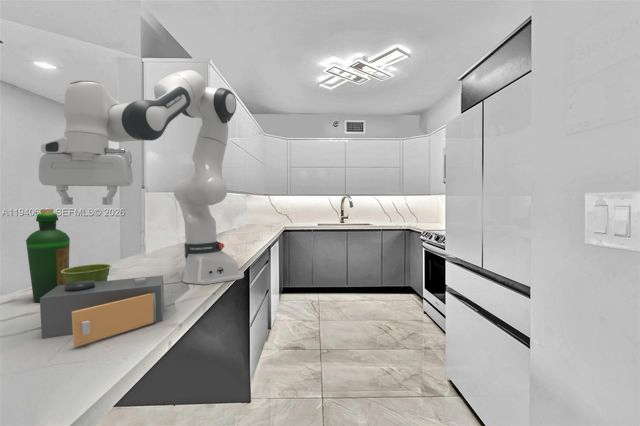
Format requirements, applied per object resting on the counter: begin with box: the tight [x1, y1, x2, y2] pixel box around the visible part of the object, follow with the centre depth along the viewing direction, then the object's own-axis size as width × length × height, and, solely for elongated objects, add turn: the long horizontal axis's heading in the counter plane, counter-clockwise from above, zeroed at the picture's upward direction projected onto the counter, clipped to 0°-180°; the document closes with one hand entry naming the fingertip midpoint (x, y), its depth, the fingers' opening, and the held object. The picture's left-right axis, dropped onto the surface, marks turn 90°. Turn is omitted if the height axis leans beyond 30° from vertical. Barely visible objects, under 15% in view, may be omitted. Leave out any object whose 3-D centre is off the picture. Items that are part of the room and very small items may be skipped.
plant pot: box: [61, 263, 112, 284], centre depth 94 cm, size 12×12×11 cm
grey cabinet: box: [39, 275, 165, 339], centre depth 83 cm, size 24×12×10 cm, turn 113°
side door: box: [72, 293, 157, 347], centre depth 74 cm, size 17×2×7 cm, turn 143°
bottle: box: [25, 208, 71, 303], centre depth 103 cm, size 11×11×28 cm
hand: (87, 204), depth 81 cm, fingers open, 8 cm apart
